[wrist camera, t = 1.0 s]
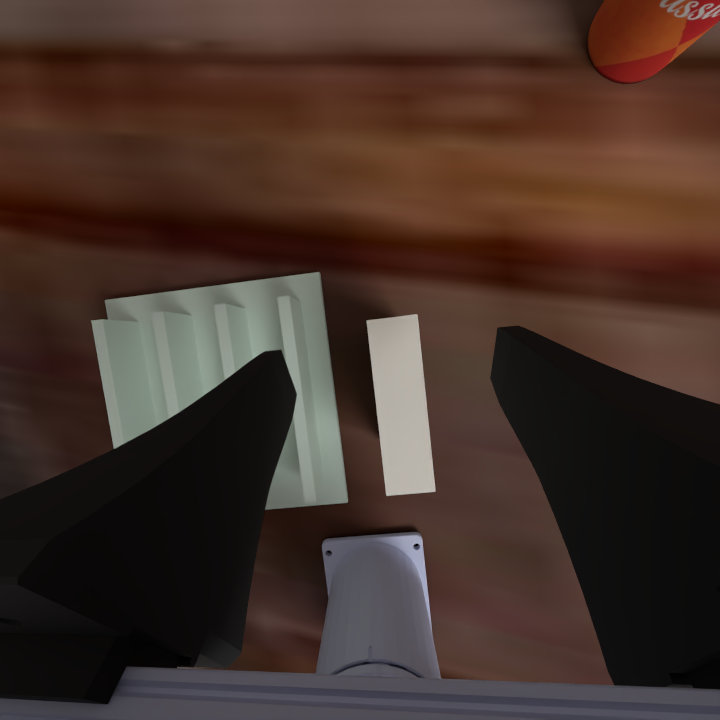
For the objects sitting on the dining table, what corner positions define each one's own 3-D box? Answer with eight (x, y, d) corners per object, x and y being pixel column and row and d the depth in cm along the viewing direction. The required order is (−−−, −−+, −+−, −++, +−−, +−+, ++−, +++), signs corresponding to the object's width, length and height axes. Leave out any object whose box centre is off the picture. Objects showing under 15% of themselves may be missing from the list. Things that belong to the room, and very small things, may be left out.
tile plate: (413, 437, 22) (435, 491, 14) (382, 440, 23) (386, 495, 15) (401, 323, 22) (417, 314, 14) (369, 327, 22) (366, 320, 14)
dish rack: (348, 499, 23) (343, 527, 20) (147, 516, 24) (109, 546, 20) (320, 273, 22) (310, 261, 18) (110, 301, 23) (63, 293, 19)
